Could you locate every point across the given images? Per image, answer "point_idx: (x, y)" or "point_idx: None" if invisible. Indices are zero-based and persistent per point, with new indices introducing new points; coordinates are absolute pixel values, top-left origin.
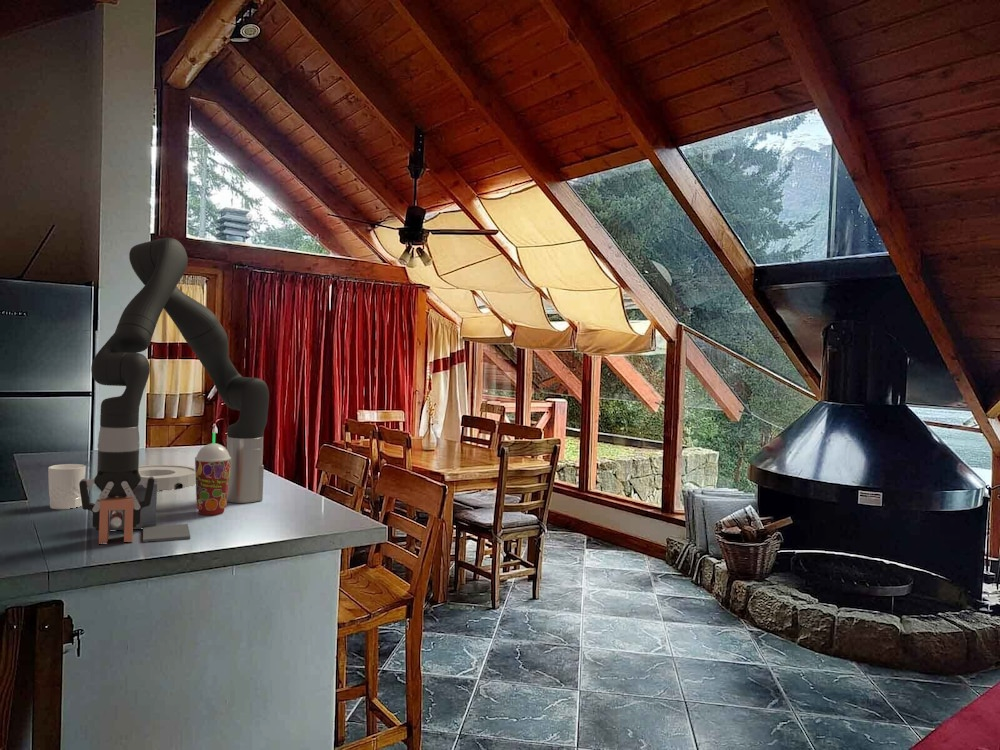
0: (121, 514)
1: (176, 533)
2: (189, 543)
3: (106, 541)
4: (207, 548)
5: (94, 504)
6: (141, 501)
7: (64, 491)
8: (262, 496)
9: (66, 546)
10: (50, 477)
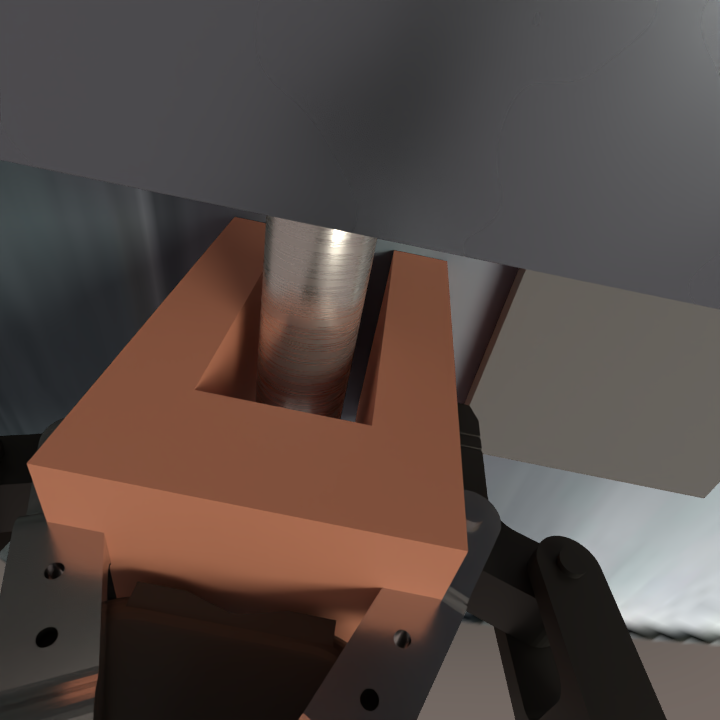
0: (333, 412)
1: (681, 421)
2: (639, 535)
3: None
4: (651, 609)
5: None
6: (491, 603)
7: None
8: None
9: (66, 322)
10: None
